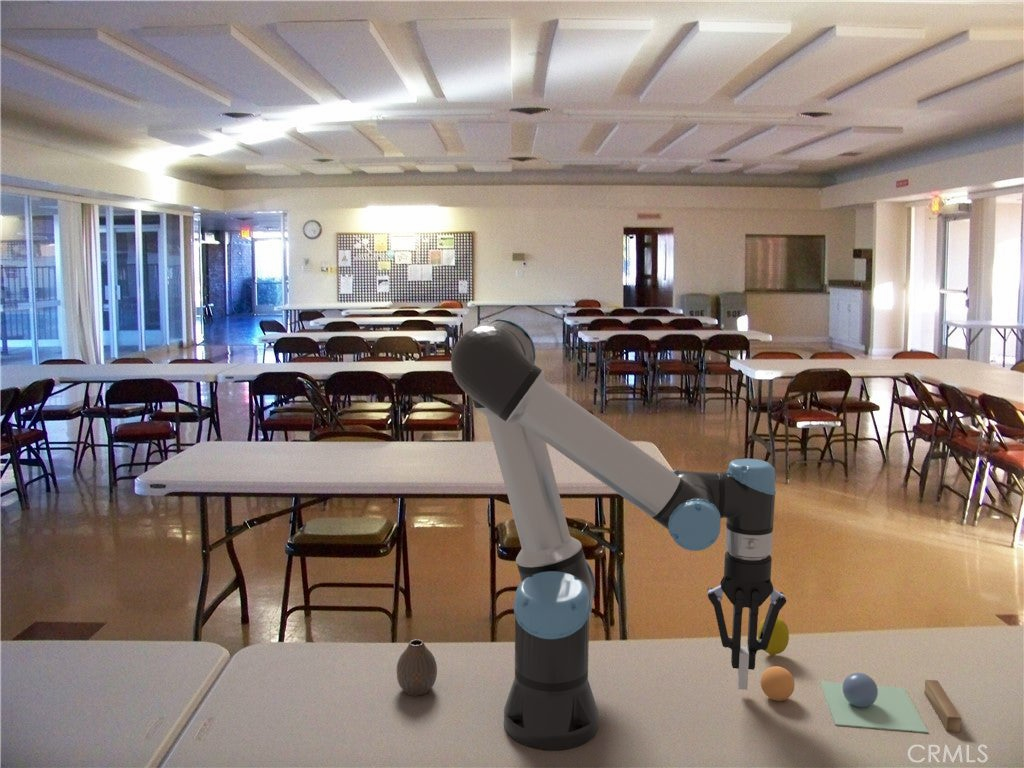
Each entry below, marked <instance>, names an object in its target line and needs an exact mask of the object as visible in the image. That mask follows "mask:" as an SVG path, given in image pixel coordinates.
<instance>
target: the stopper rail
mask: <svg viewBox="0 0 1024 768" xmlns="http://www.w3.org/2000/svg"><path fill="white" fill-rule="evenodd" d="M924 681H925V682H924V691H923V692H924V695H925V697H926V698H927V700H928V702H929V704H930V706H931V705H932V706H931V707H932V709H933V711H934V710H935V711H934V712H935V714H936V716H937V715H938V716H937V718H938V717H939V718H938V719H939V721H940V720H941V721H940V723H941V722H942V723H941V724H942V726H943V728H944V729H946V730H945V731H946V732H950V733H951V732H952V733H961V724H962V717H961V715H960V713H959V711H958V710H957V708H956V707H955V705H954V704H953V702H952V701H951V699H950V697H949V696H948V694H947V693H946V691H945V689H944V688H943V686H942V685H941V683H940V682H939V680H937V679H935V680H934V679H924Z"/></svg>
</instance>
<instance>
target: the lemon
mask: <svg viewBox="0 0 1024 768" xmlns="http://www.w3.org/2000/svg"><path fill="white" fill-rule="evenodd" d="M764 621H765V618H764V619H762V620H761V621H760V624H759V627H758V629H757V640H758V639H759V637H760V634H761V631H762V627H763V624H764ZM789 634H790V633H789V628H788V625H787V624H786V622H785V620H784V619H782V618H781V617H779V616H778V617H777V620H776V623H775V626H774V629H773V632H772V635H771V638H770V641H769V644H768V648H767V649H766V650H763V651H764V652H766V653H768V654H769V655H770V656H771V657H774V656H775V655H779V654H781V653H783V652H784V651H785V649H787V647H788V645H789V640H790V638H789V637H790V635H789Z"/></svg>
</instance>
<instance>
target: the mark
mask: <svg viewBox="0 0 1024 768" xmlns="http://www.w3.org/2000/svg"><path fill="white" fill-rule="evenodd" d="M819 684H820V686H821V689H822V692H823V694H824V697H825V701H826V703H827V706H828V709H829V711H830V714H831V716H832V720H833V723H834V725H835V726H839V727H840V726H843V727H853V728H854V727H855V728H864V729H875V730H876V729H878V730H888V731H900V732H911V731H912V733H913V732H914V733H924V734H929V730H928V729H927V727H926V725H925V723H924V721H923V720H922V717H921V716H920V714H919V713H918V710H917V708H916V707H915V705H914V703H913V701H912V699H911V698H910V695H909V694H908V692H907V690H906V689H905V687H899V686H898V687H897V686H883V685H877V689H878V696H877V699H876V701H875V702H874V703H873V704H872V705H870V706H868V707H864V708H860V707H856V706H854V705H852V704H850V703H849V702H848V701H847V700H846V698H845V696H844V694H843V690H842V686H843V682H837V681H835V682H832V681H823V680H822V681H821V680H820V681H819ZM919 720H920V721H919Z"/></svg>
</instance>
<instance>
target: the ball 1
mask: <svg viewBox="0 0 1024 768" xmlns="http://www.w3.org/2000/svg"><path fill="white" fill-rule="evenodd" d="M760 687H761V689H762V692H763V693H764V695H766V697H768V698H769V699H771V700H773V701H777V702H780V701H785V700H787V699H789V698H790V697H792V694H793V693H794V691H795V680H794V677H793V675H792V674H791V672H790V671H789V670H787V669H786V668H784V667H782V666H777V665H776V666H770V667H768V668H766V669H765V670H764V672H763V673H762V674H761V677H760Z"/></svg>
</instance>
